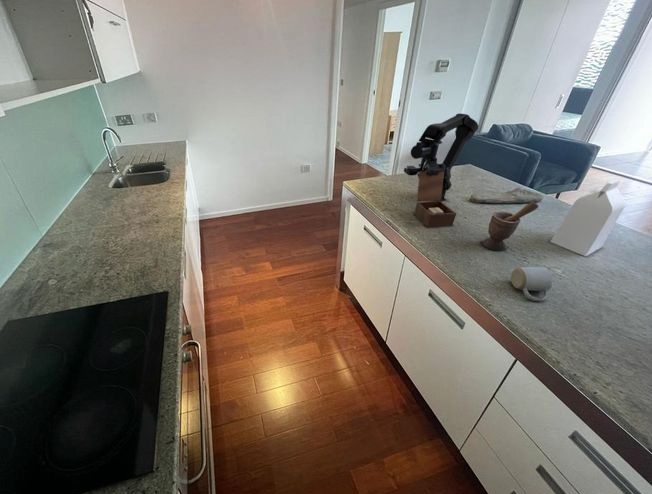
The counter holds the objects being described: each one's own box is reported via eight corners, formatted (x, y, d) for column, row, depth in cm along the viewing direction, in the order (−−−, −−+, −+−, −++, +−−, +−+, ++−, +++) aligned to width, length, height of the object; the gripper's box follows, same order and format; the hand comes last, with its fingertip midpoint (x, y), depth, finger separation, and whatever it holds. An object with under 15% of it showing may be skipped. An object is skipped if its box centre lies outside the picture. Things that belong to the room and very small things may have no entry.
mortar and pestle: (506, 240, 119) (527, 194, 108) (519, 252, 112) (543, 205, 101) (477, 240, 120) (495, 194, 109) (488, 252, 112) (508, 205, 101)
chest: (452, 225, 130) (456, 213, 126) (427, 227, 129) (431, 215, 126) (437, 212, 141) (440, 200, 137) (414, 214, 140) (417, 202, 136)
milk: (585, 256, 109) (628, 190, 95) (550, 241, 117) (584, 179, 103) (601, 247, 113) (643, 183, 99) (565, 234, 122) (600, 173, 108)
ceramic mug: (505, 279, 99) (515, 261, 95) (532, 280, 98) (542, 262, 94) (523, 302, 90) (534, 283, 86) (552, 303, 89) (565, 284, 85)
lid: (444, 170, 133) (443, 170, 133) (420, 172, 132) (419, 172, 132) (441, 200, 137) (440, 199, 137) (417, 201, 136) (416, 201, 137)
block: (435, 216, 136) (438, 207, 134) (441, 221, 132) (443, 211, 130) (426, 216, 136) (428, 208, 133) (431, 221, 132) (433, 212, 129)
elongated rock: (464, 199, 155) (474, 208, 147) (467, 190, 152) (477, 199, 144) (533, 194, 153) (546, 203, 145) (537, 185, 150) (551, 194, 142)
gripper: (417, 161, 126) (410, 194, 135) (459, 158, 127) (449, 192, 136) (406, 153, 135) (400, 185, 144) (445, 151, 137) (436, 183, 145)
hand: (421, 186), depth 142 cm, fingers closed
